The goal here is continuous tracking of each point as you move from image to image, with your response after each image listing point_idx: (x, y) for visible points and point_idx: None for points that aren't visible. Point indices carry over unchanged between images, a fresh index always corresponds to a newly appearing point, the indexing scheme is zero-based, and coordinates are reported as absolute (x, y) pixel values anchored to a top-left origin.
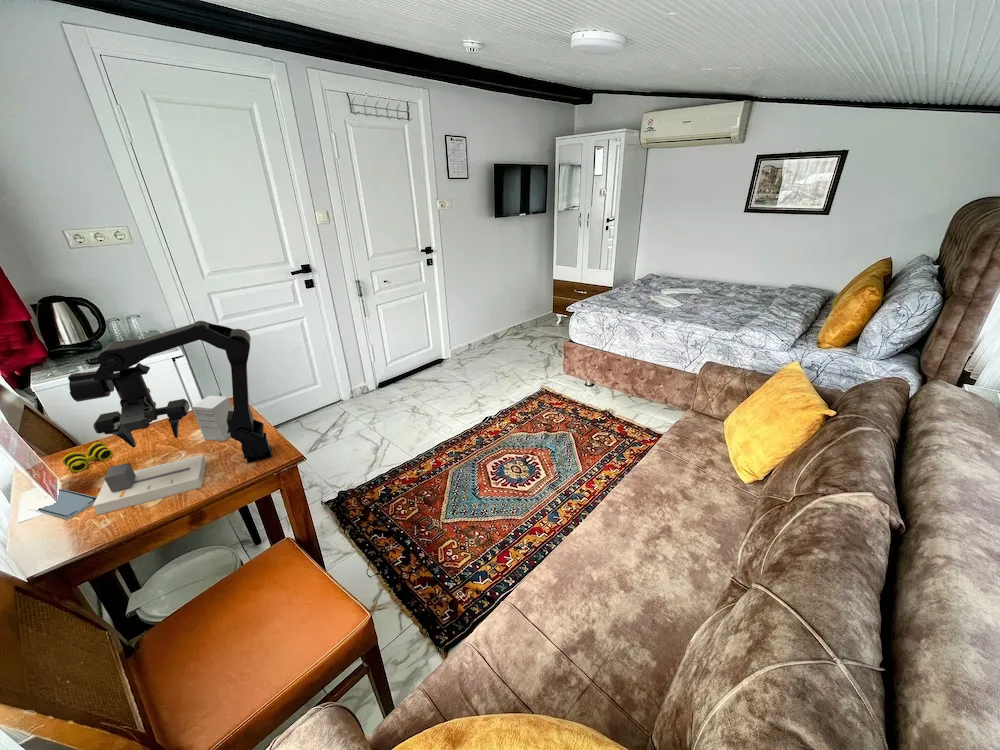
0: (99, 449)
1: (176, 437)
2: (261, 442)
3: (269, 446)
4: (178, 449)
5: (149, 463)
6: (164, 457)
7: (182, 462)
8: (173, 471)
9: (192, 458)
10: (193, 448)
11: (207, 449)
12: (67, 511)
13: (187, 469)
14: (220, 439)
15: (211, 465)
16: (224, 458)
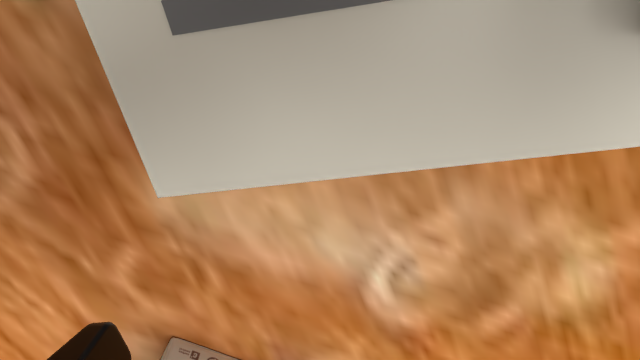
0: None
1: (89, 330)
2: None
3: None
4: (430, 342)
5: (582, 262)
6: (497, 293)
7: (282, 139)
8: (307, 18)
9: (220, 169)
10: (339, 325)
11: (244, 290)
12: None
13: (184, 8)
14: (193, 353)
15: None
16: (75, 162)
